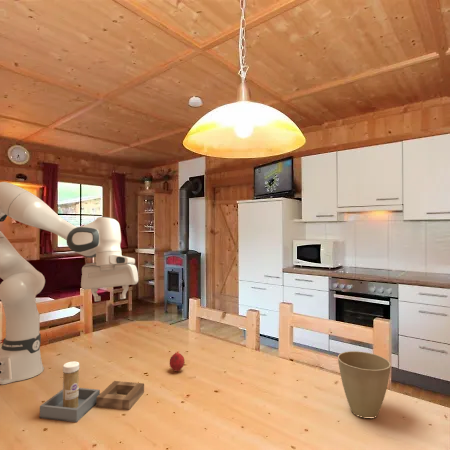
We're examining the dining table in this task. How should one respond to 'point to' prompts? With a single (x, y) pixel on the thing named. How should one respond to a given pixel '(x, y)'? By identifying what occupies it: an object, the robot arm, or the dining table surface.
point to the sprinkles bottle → (70, 384)
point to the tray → (58, 412)
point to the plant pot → (364, 381)
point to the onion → (177, 361)
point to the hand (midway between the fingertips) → (110, 300)
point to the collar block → (118, 401)
